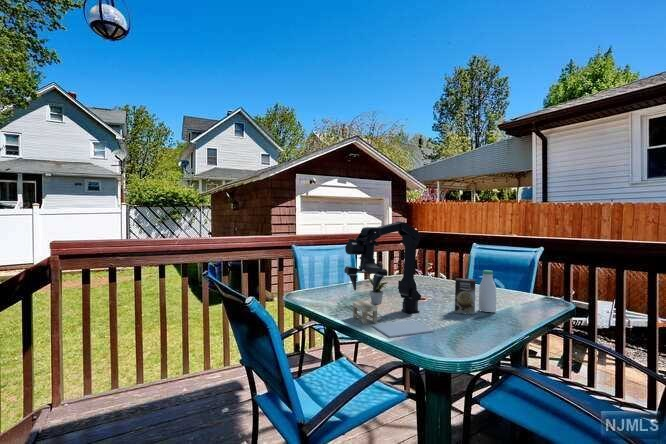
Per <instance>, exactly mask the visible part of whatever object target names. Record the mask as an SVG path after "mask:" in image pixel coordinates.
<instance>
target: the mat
mask: <svg viewBox="0 0 666 444" xmlns="http://www.w3.org/2000/svg"><path fill="white" fill-rule="evenodd" d="M371 327H372V328H374V329H375V330H377V331H379V332H380V333H381V334H383V335H385V336H386V337H387V338H390V339H391V338H399V337H406V336H413V335H421V334H429V333H434V332H435V330H434V329H431V328H429V327H427V326H426V325H424V324H421V323H420V322H418V321H415V320H414V319H409V320H408V319H407V320H400V321H392V322H383V323H382V322H381V323H373V324H371Z"/></svg>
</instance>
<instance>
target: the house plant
mask: <svg viewBox="0 0 666 444" xmlns="http://www.w3.org/2000/svg"><path fill="white" fill-rule="evenodd" d="M364 277H365V278H367V279H368V280H369V282H370V284H371V285H372V286H370V284H366V285H365V287H367V288H371V290H370V291H369V295H370V301H371V302H370V303H371V304H373V305H381V304H382V302H383V295H384V291H383V290H382V289H383V288H385V289H387V288H389V286H388V285H387V284H389V282H387V281H386V282H385V281H384V282H382V281H383V278H382V279H381V280H380V281H379V283H378V285H377V288H376V290H375V291H373V277H374V276H369V274H368V275H367V276H365V275H364ZM371 277H372V278H371ZM387 278H388V276H385V279H387Z"/></svg>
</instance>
